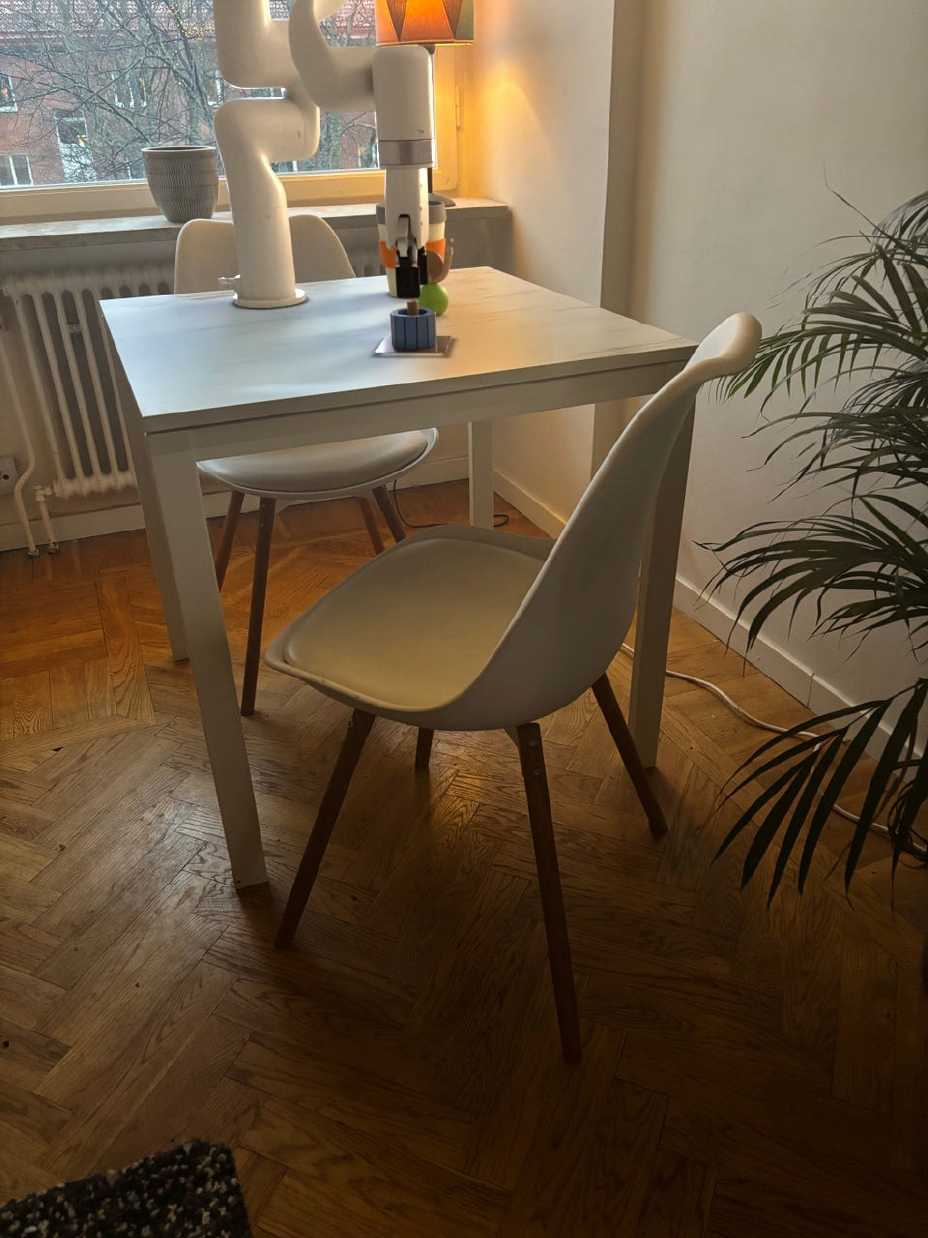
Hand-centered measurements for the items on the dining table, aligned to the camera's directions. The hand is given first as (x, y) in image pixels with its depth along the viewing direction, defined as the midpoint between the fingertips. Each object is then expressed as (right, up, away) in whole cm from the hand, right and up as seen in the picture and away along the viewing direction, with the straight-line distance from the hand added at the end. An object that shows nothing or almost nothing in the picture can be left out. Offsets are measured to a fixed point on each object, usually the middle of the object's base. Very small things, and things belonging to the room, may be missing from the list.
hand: (413, 290), depth 131 cm
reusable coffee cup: (-2, +13, +39) cm, 41 cm away
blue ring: (0, -6, +4) cm, 7 cm away
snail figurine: (+2, +3, +21) cm, 22 cm away
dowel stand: (0, -7, +4) cm, 8 cm away
